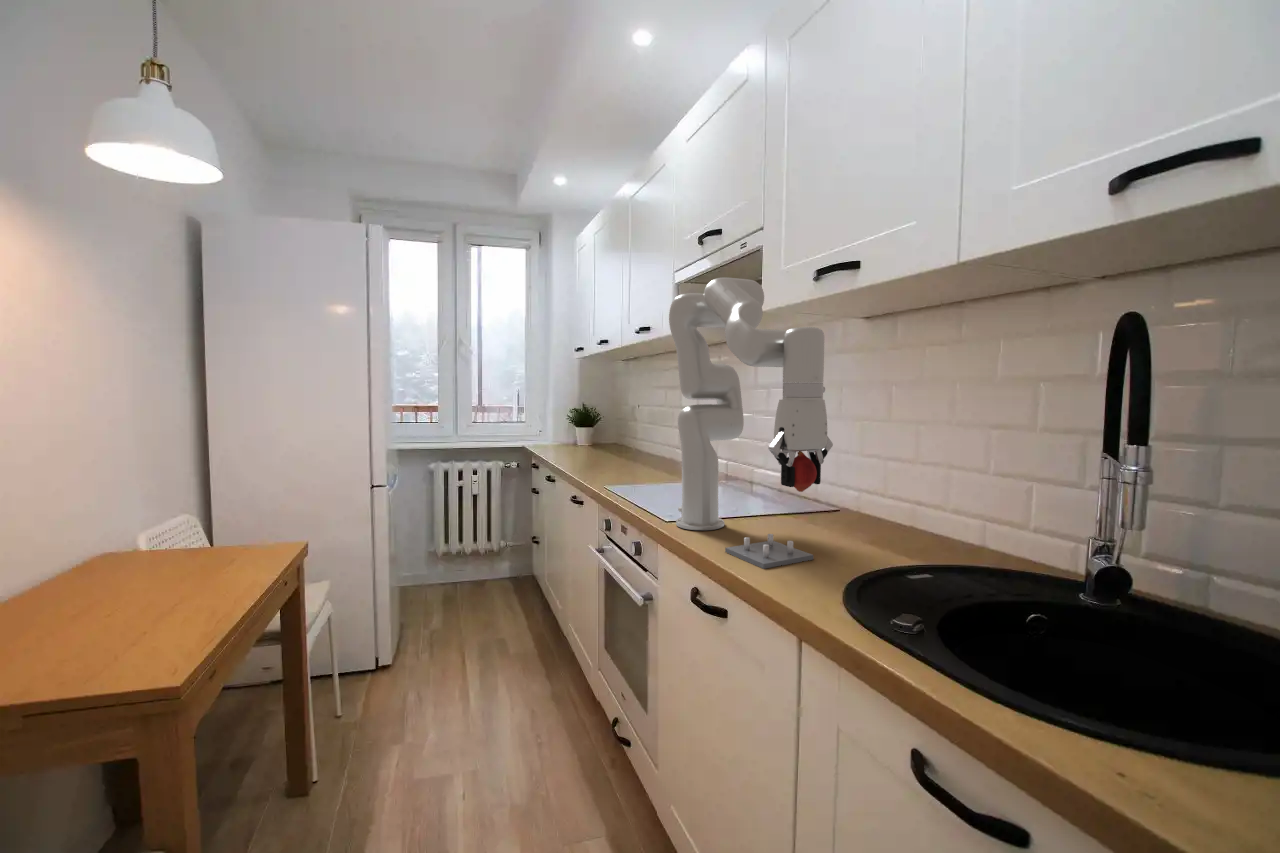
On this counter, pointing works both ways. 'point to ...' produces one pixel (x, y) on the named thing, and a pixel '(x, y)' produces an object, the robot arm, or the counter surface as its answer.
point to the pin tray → (768, 553)
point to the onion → (804, 472)
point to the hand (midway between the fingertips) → (800, 483)
